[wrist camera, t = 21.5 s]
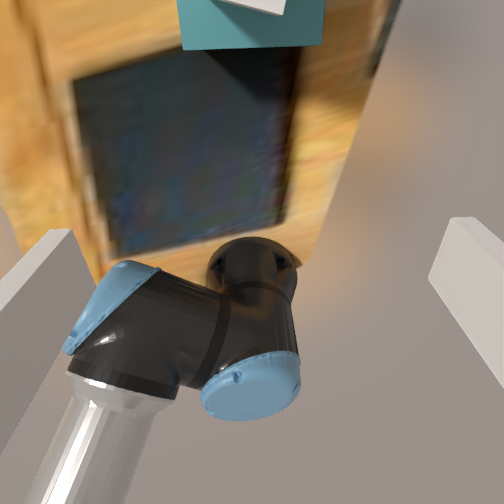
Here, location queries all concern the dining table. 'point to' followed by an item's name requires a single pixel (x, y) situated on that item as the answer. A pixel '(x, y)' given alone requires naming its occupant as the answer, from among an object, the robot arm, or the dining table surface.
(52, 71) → the dining table surface
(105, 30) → the dining table surface
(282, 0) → the light grey cube
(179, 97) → the dining table surface
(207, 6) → the lid
